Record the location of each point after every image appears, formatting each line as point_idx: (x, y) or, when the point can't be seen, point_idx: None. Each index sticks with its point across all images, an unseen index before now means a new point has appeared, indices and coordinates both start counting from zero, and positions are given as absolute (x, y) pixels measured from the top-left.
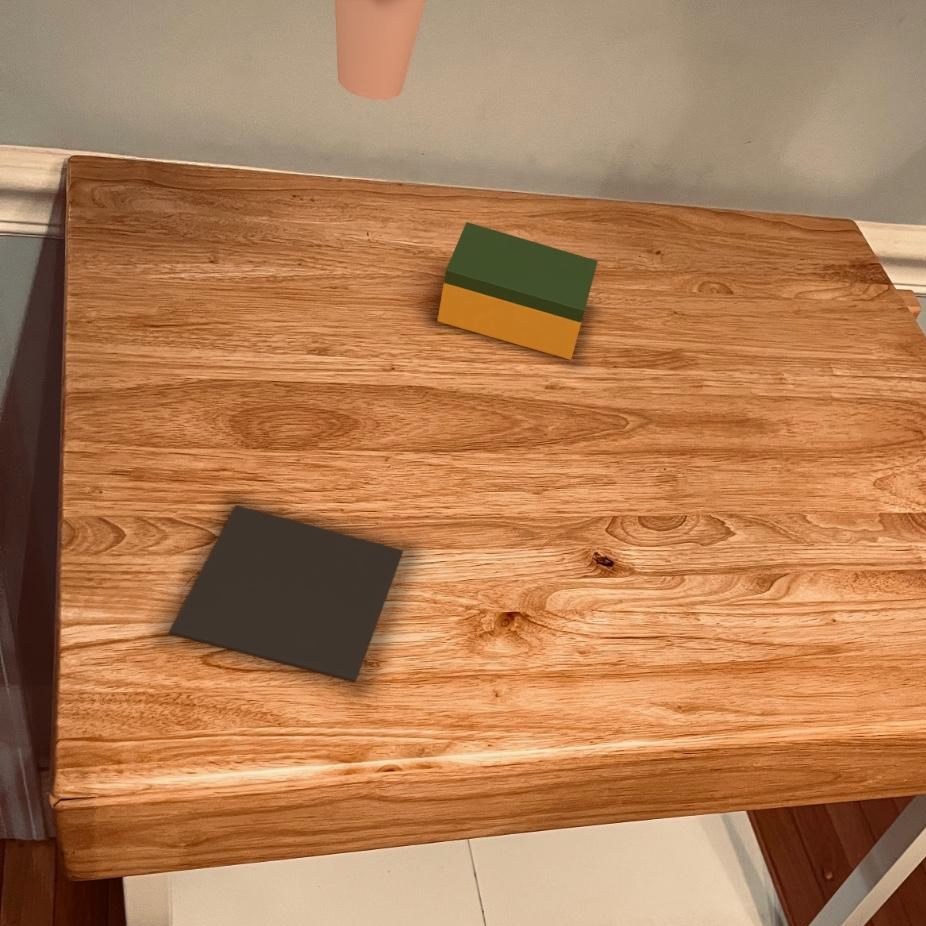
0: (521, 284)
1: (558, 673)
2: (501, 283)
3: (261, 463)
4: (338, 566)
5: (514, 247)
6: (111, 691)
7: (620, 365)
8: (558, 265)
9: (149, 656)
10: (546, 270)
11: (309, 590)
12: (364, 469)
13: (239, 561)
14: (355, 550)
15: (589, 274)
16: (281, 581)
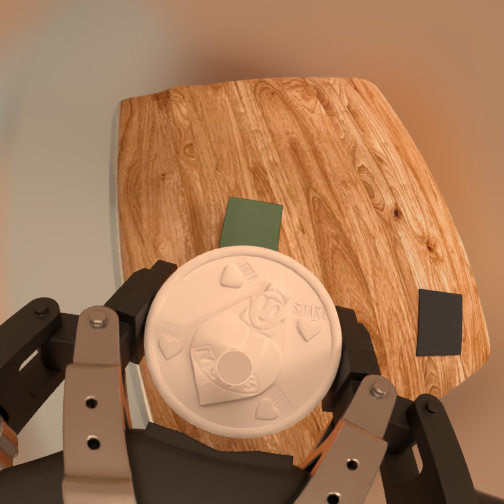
0: (271, 239)
1: (440, 232)
2: (274, 250)
3: (393, 354)
4: (432, 310)
5: (233, 244)
6: (474, 360)
7: (272, 196)
8: (243, 218)
9: (465, 356)
10: (251, 225)
11: (441, 317)
12: (385, 312)
13: (437, 344)
14: (424, 306)
15: (245, 201)
16: (441, 327)
